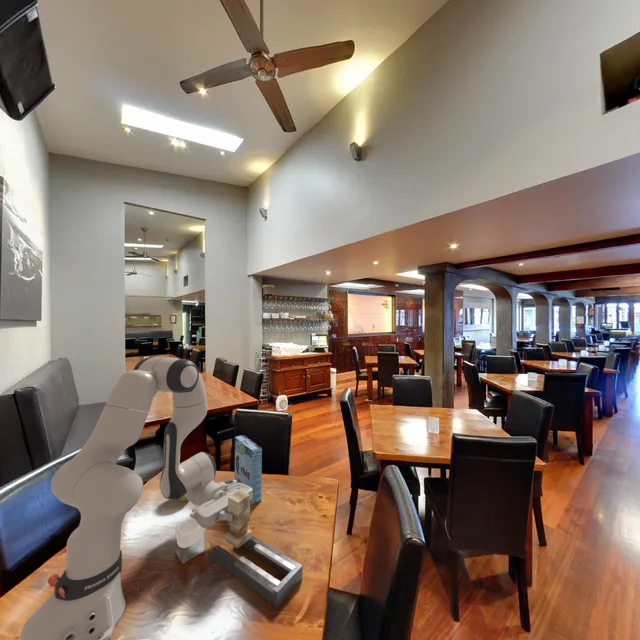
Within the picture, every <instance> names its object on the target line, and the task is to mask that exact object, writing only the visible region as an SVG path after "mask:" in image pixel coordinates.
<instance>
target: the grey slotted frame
mask: <svg viewBox="0 0 640 640" xmlns="http://www.w3.org/2000/svg"><path fill="white" fill-rule="evenodd" d="M240 547H243V548H245V549H246V550H248V551H249V552H251V553H252V554H254V555H255V556H257V557H259V558H260V559H262V560H263V561H265V562H266V563H268V564H269V565H271V566H273V567H274V568H275V569H277V570H279V571H280V572H281V573H283V574H285V577H284V578H282V579H281V581H280V580H279V579H277V578H276V577H274V576H273V575H271V574H270V573H268V572H266V571H265V570H264V569H263V568H261V567H259V566H257V564H254V563H253V562H252V561H251V560H249V559H247V558H246V557H245V556H243V555H242V556H240V557H239V558H238V557H237V556H235V555H233V554H232V553H230V552H229V551H227V550H226V549H225V548H224V547H221V545H219V544H217V545H216V546H214V547H213V561H214V562H215V563H216V564H218V565H219V566H220V567H222V568H223V569H225V570H226V571H227V572H228V573H230V574H231V575H232V576H234V577H235V578H237V579H238V580H239V581H240V582H242V583H243V584H244V585H246V586H247V587H249V588H250V589H251V590H253V591H254V592H255V593H256V594H257V595H259V596H261V598H263V599H264V600H266V601H267V602H269V603H270V604H271V605H273V606H274V607H275V608H278V607H279V606H280V605H281V604H282V603H283V602H284V600H285V599H286V598H287V597H288V596H289V595H290V593H291V592H292V591H293V590H294V589H295V588H296V587H297V586H298V585H299V584H300V583H301V581H302V580H303V564H301V563H300V562H297V561H296V560H294V559H292V557H289V556H287V555H285V554H284V553H282V552H280V551H279V550H278V549H276V548H274V547H272V546H271V545H270V544H268V543H265V542H264V541H262V540H261V539H259V538H257V537H255V536H254V535H252V537H251V538H250V539H249V540H248V541H246V542H245V543H244V544H243V545H241V546H240Z"/></svg>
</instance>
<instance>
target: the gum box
mask: <svg viewBox="0 0 640 640" xmlns="http://www.w3.org/2000/svg"><path fill="white" fill-rule="evenodd" d="M262 452H263V447H261V446H259V445H258V444H257V443H256V442H254V441H253V440H252V439H249V437H247V436H246V435H244V434H243V435H242V434H241V435H238V436H235V437H234V480H236V481H237V483H242V484H245V485H247V486H249V487H251V488H252V490H253V497H252V499H251V500H250V506H251V505H255V504H257V503H259V502H262V488H263V487H262V483H263V482H262V477H263V476H262V475H263V474H262V471H263V468H262V466H263V464H262V462H263V458H262V456H263V453H262Z"/></svg>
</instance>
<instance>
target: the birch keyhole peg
mask: <svg viewBox="0 0 640 640" xmlns="http://www.w3.org/2000/svg"><path fill="white" fill-rule="evenodd" d="M230 512H232V513H234V515H235V519H234V520H232V521H231V522H230V521H228V520H227V524H228V525H229V531H228V532H226V533H225V535H224V540H225V542H227V543H228V544H230V545H231V546H233V547H234V548H236V549H239V548H240V547H242V546H241V545H243V544H244V543H245V542H246V541H248V540H249V539H250V538H251V537H252V536H253V531H252V530H251V529H249V528H248V525H249V524H248V523H249V522H250V521H251V503H250V495H249V494H247V493H245V492H243V491H241V490H239V491H237V492H236V493H234V494H232V495H231V496H229V497H228V513H230Z"/></svg>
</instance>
